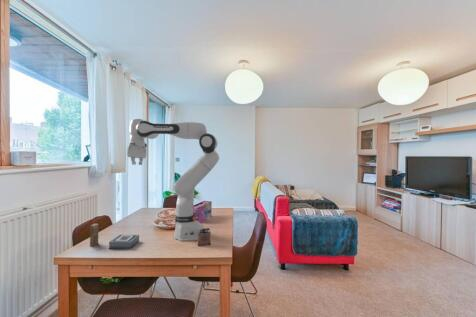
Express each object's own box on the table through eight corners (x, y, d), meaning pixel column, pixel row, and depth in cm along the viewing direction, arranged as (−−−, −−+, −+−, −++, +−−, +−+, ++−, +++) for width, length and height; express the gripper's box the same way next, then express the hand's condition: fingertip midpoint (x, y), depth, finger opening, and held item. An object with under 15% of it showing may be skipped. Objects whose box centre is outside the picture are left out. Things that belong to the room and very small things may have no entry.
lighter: (198, 246, 137) (198, 229, 136) (196, 244, 140) (197, 228, 140) (211, 244, 140) (211, 228, 140) (209, 243, 143) (209, 226, 143)
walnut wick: (98, 243, 140) (98, 223, 140) (94, 246, 136) (94, 225, 136) (94, 243, 140) (94, 223, 140) (89, 246, 136) (90, 225, 136)
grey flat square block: (139, 241, 144) (139, 234, 144) (130, 249, 132) (130, 241, 132) (119, 241, 144) (119, 234, 144) (109, 248, 132) (109, 241, 132)
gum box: (199, 224, 182) (199, 206, 182) (190, 223, 185) (190, 206, 184) (211, 216, 205) (211, 201, 205) (203, 216, 208) (203, 200, 207)
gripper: (134, 141, 143) (134, 164, 142) (148, 145, 163) (148, 164, 163) (124, 142, 143) (124, 164, 143) (139, 145, 164) (139, 165, 163)
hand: (137, 164), depth 153 cm, fingers open, 8 cm apart
